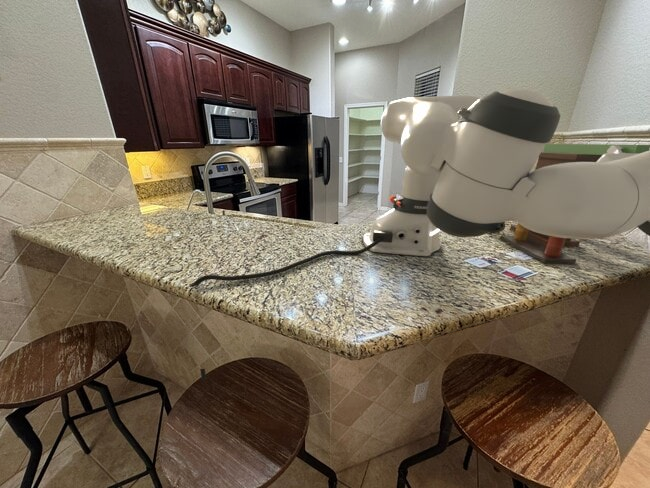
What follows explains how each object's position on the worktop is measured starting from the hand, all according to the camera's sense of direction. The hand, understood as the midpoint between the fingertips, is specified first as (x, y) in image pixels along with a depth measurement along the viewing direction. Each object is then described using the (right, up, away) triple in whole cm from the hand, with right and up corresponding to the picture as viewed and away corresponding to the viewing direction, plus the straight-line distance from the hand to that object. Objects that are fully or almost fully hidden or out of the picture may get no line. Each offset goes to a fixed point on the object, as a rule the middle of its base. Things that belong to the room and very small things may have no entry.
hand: (624, 148), depth 62 cm
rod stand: (-11, -25, +13) cm, 30 cm away
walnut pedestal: (0, -21, +23) cm, 31 cm away
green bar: (0, +2, +9) cm, 9 cm away
